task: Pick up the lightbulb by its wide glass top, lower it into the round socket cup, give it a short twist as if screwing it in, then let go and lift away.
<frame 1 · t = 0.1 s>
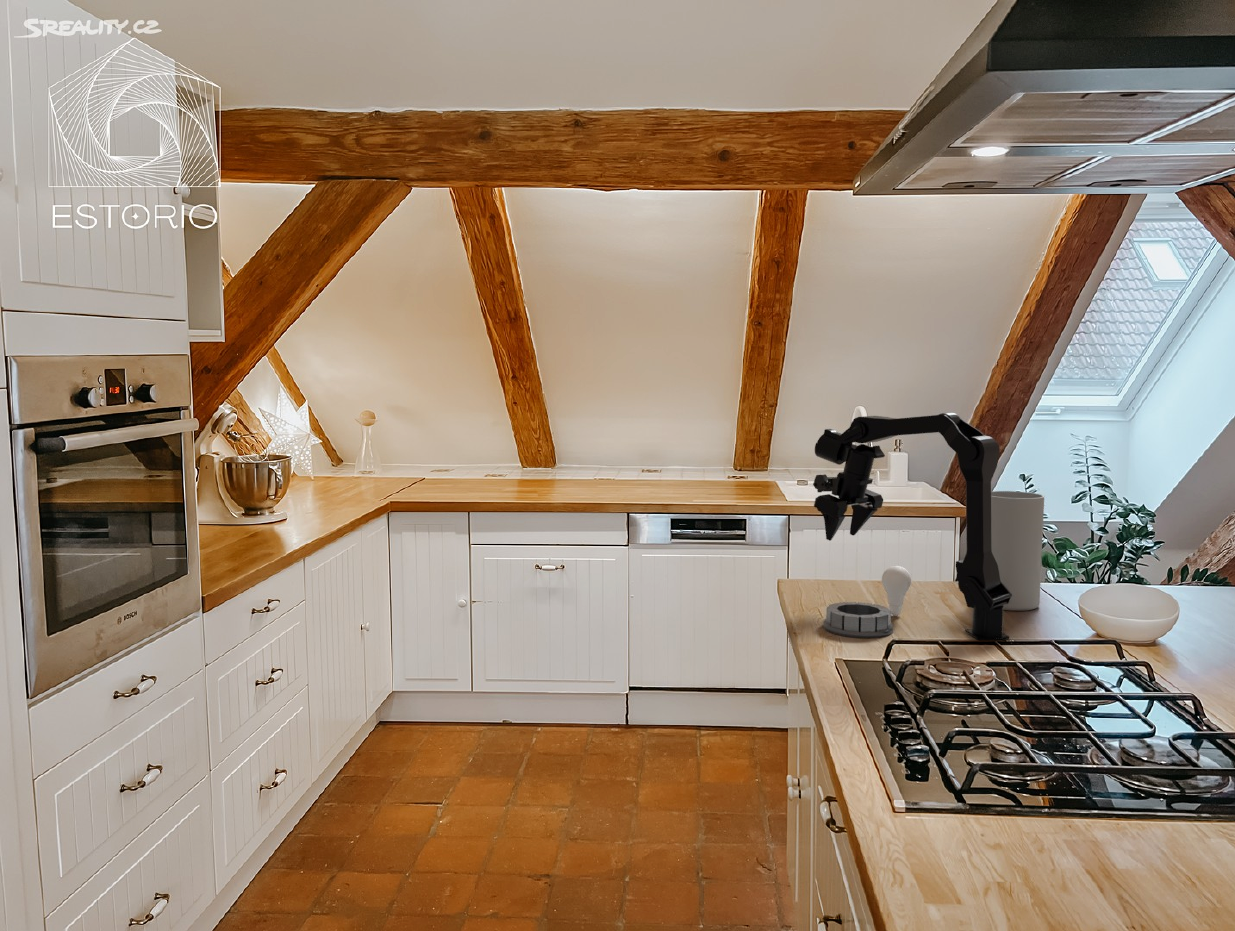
hand: (840, 537, 217), 15 cm above the countertop, tool pointing down, fingers open, 9 cm apart
cylinder vase: (1009, 605, 218), on the countertop
socket: (858, 628, 199), on the countertop
lightbulb: (895, 617, 208), on the countertop
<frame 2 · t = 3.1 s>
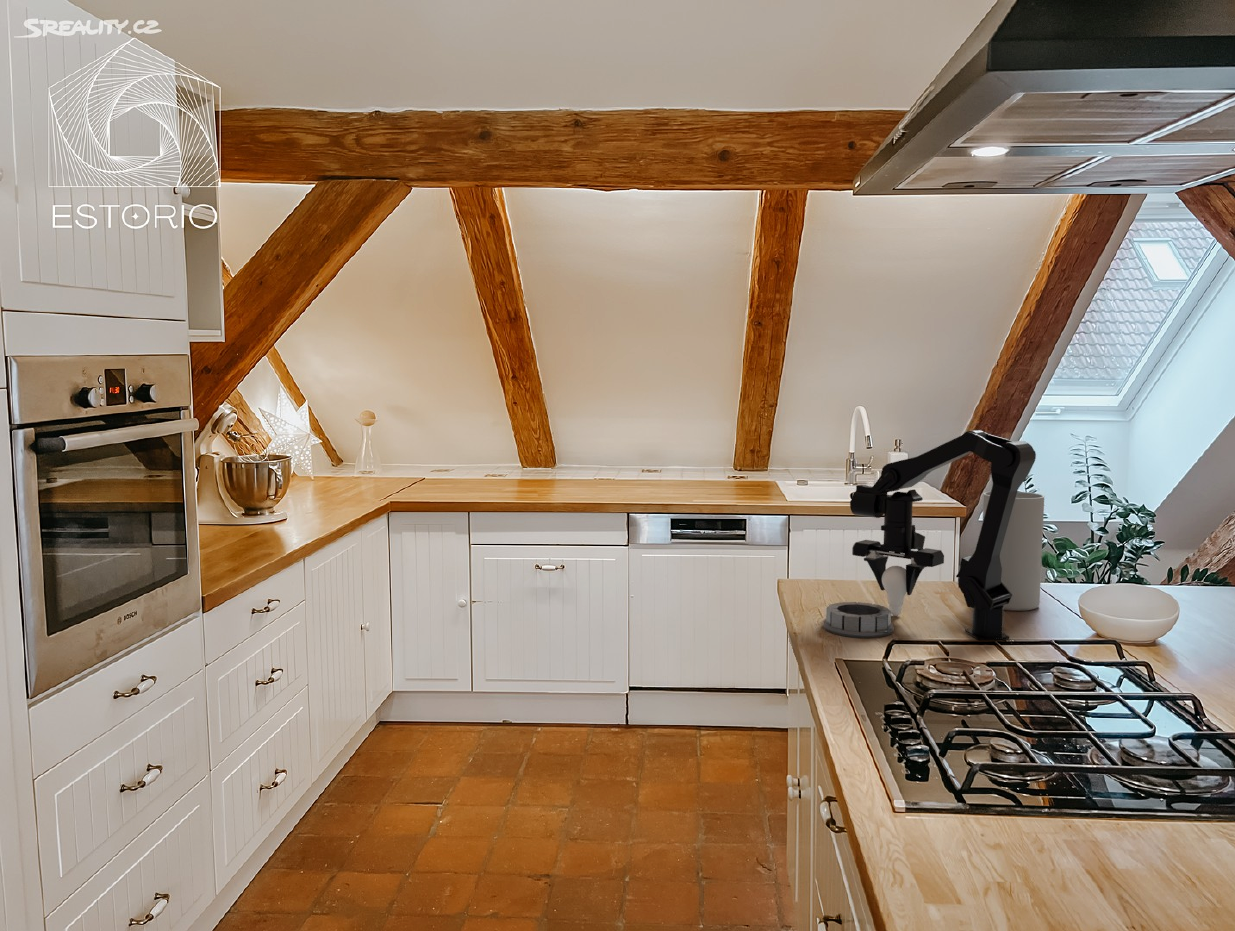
hand: (896, 592, 208), 5 cm above the countertop, tool pointing down, fingers closed on lightbulb, 6 cm apart
lightbulb: (895, 617, 208), on the countertop, touching gripper
everything else where it was.
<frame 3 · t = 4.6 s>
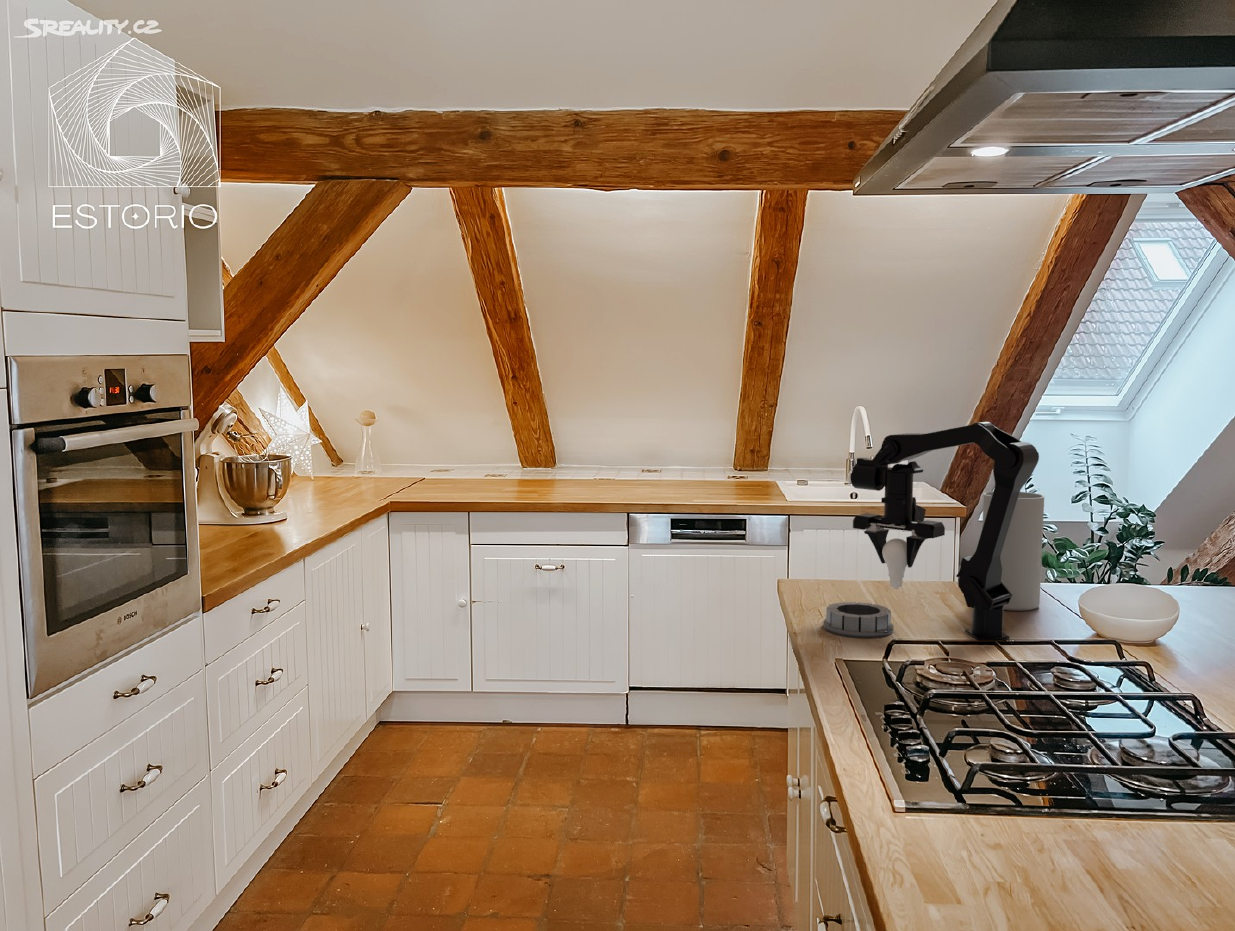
hand: (896, 565, 207), 11 cm above the countertop, tool pointing down, fingers closed on lightbulb, 6 cm apart
lightbulb: (895, 590, 208), point 6 cm above the countertop, touching gripper
everything else where it was.
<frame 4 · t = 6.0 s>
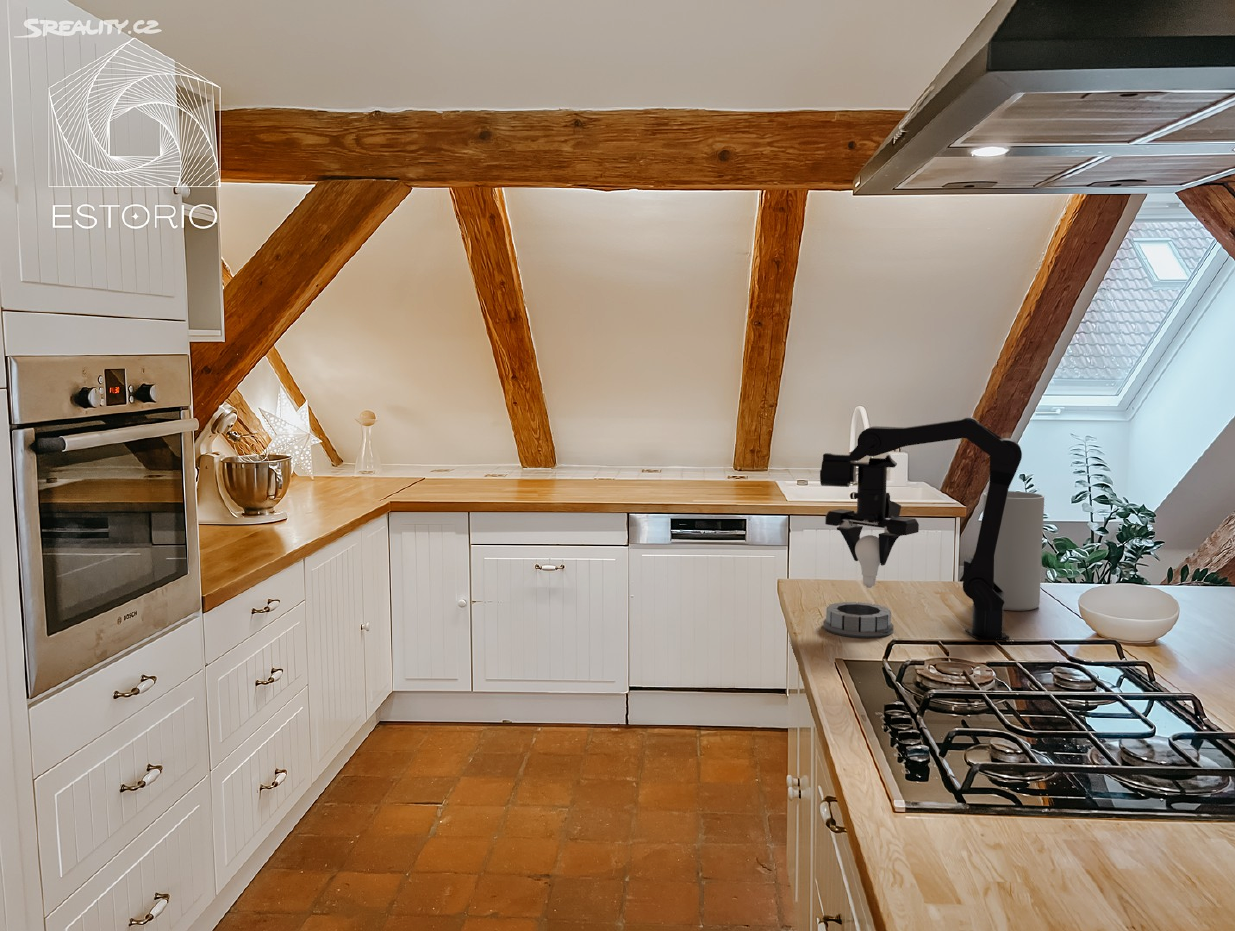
hand: (869, 563, 200), 13 cm above the countertop, tool pointing down, fingers closed on lightbulb, 6 cm apart
lightbulb: (869, 588, 201), point 8 cm above the countertop, touching gripper
everything else where it was.
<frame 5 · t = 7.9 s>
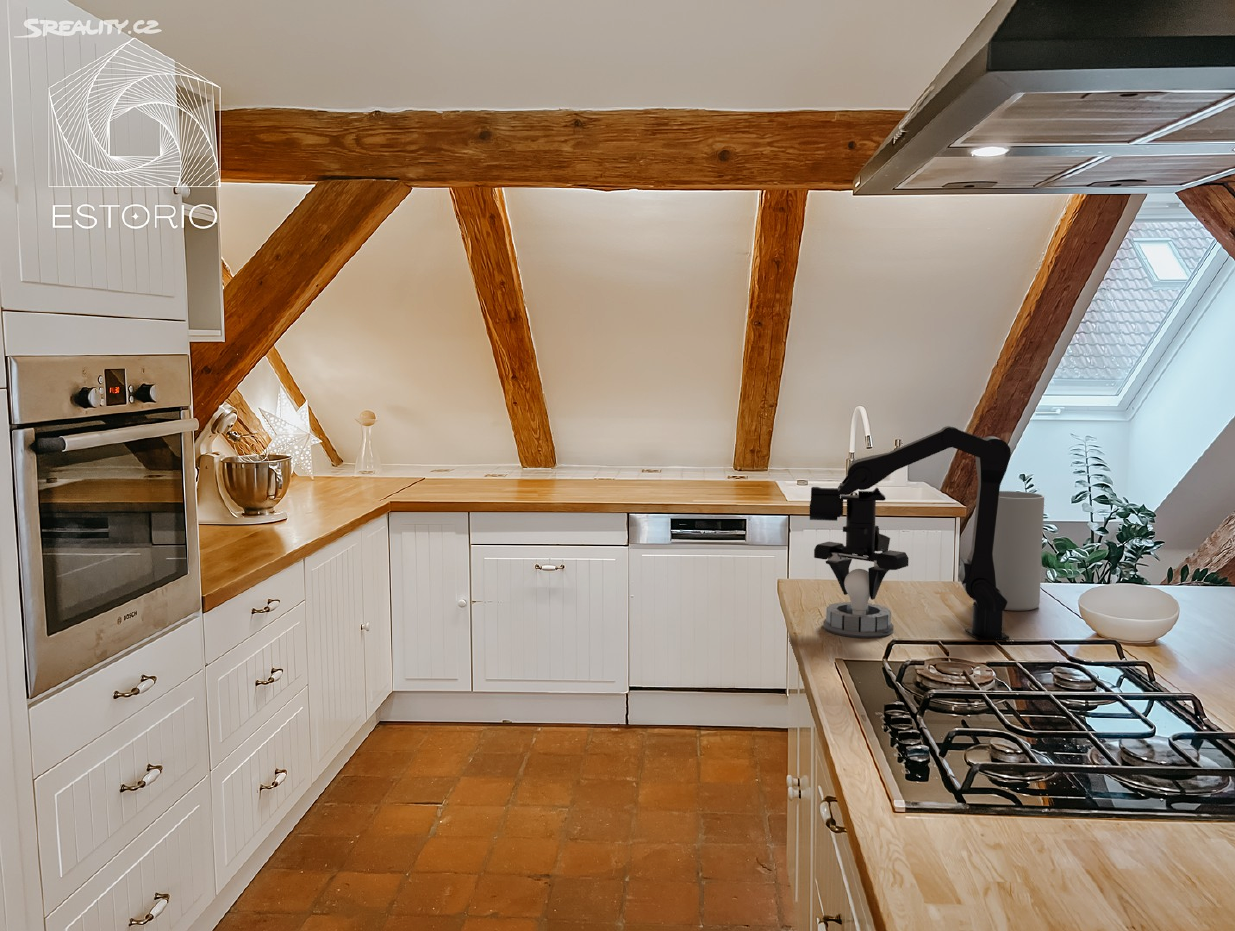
hand: (859, 596, 198), 7 cm above the countertop, tool pointing down, fingers closed on lightbulb, 6 cm apart
lightbulb: (858, 622, 199), point 1 cm above the countertop, touching gripper
everything else where it was.
when the fingers open (7 cm above the countertop, at t = 9.3 s): lightbulb stays where it is, resting on socket.
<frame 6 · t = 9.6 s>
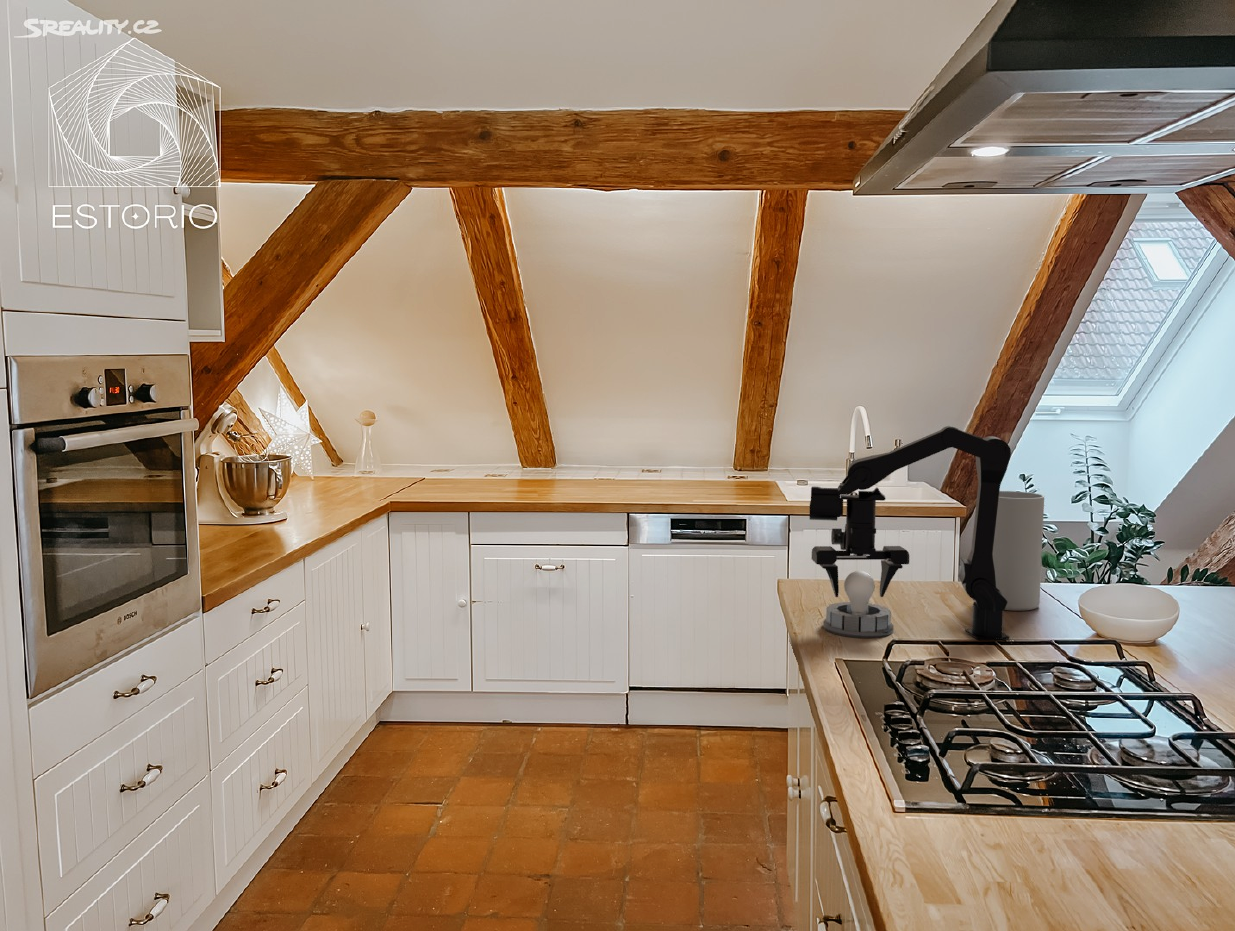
hand: (858, 596, 198), 7 cm above the countertop, tool pointing down, fingers open, 9 cm apart
lightbulb: (858, 624, 199), point 1 cm above the countertop, touching socket
everything else where it was.
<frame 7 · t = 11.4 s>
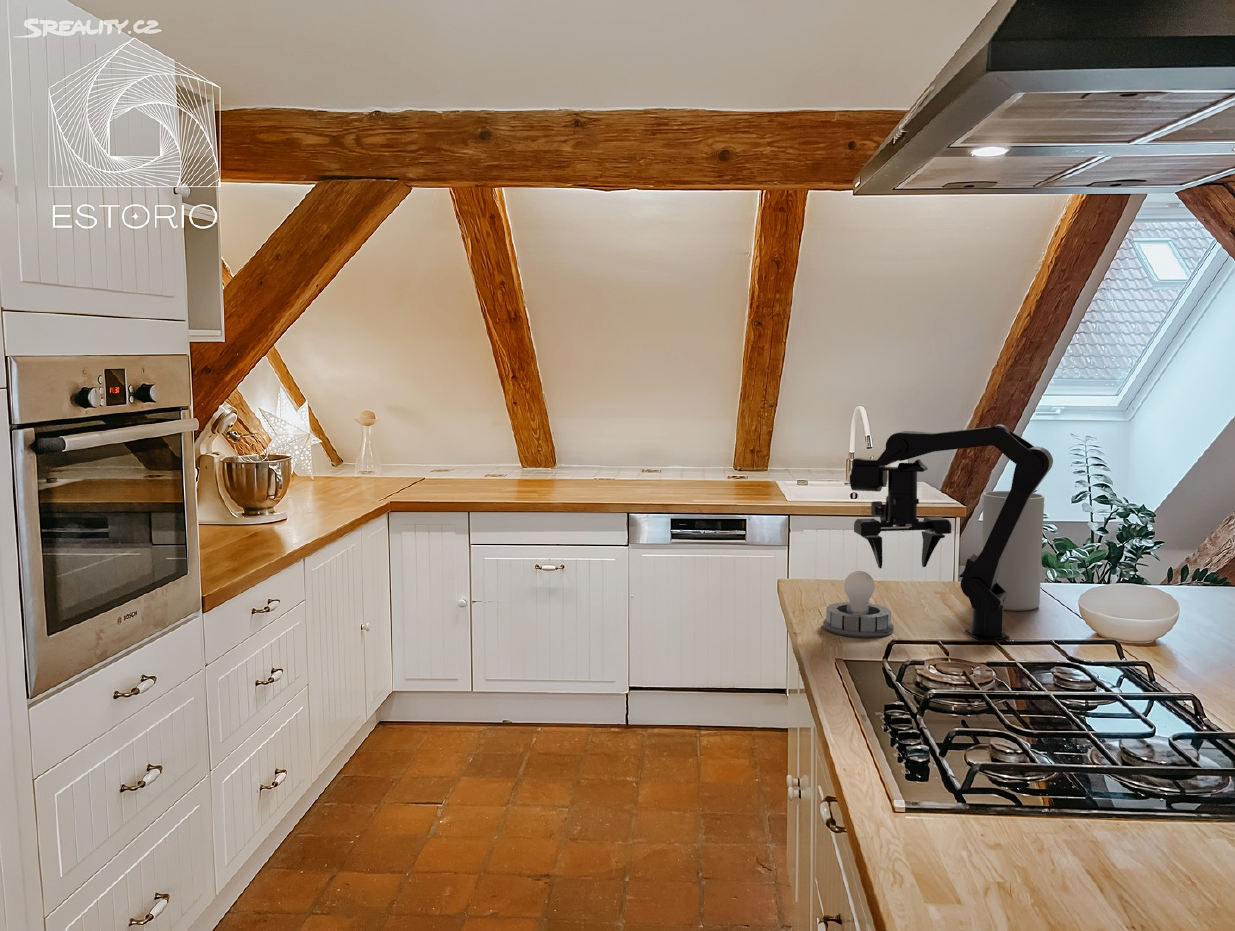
hand: (901, 567, 201), 12 cm above the countertop, tool pointing down, fingers open, 9 cm apart
nothing on the countertop moved.
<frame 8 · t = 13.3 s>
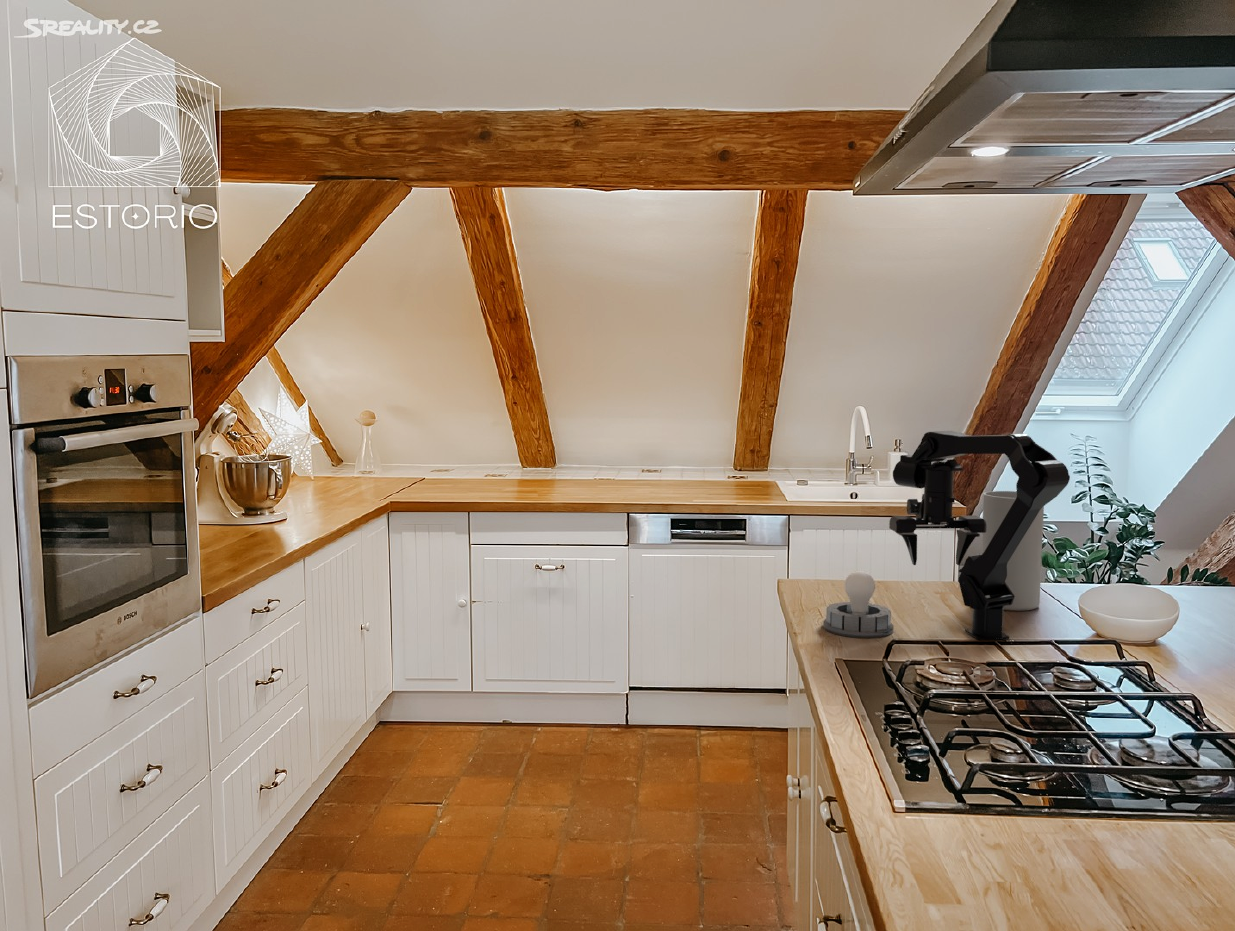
hand: (936, 564, 204), 12 cm above the countertop, tool pointing down, fingers open, 9 cm apart
nothing on the countertop moved.
at the end: lightbulb 0.1 cm off-centre on the socket, point 0.8 cm above the socket's base; lightbulb tilted 0°; the gripper is holding nothing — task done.
